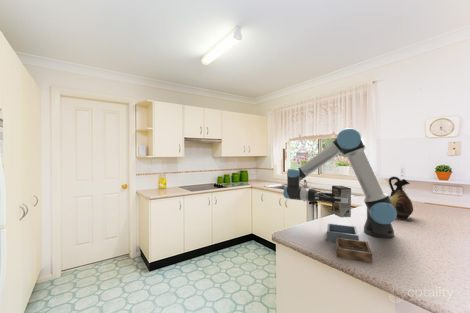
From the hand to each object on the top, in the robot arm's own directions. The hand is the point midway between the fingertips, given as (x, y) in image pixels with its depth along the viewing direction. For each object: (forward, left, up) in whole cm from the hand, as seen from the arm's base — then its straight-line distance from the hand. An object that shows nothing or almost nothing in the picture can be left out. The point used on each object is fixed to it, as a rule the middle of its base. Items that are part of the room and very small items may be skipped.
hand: (349, 198), depth 119 cm
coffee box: (+4, -1, -10) cm, 11 cm away
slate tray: (+4, -1, -22) cm, 23 cm away
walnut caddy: (0, +18, -22) cm, 29 cm away
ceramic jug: (-35, -59, -23) cm, 72 cm away
